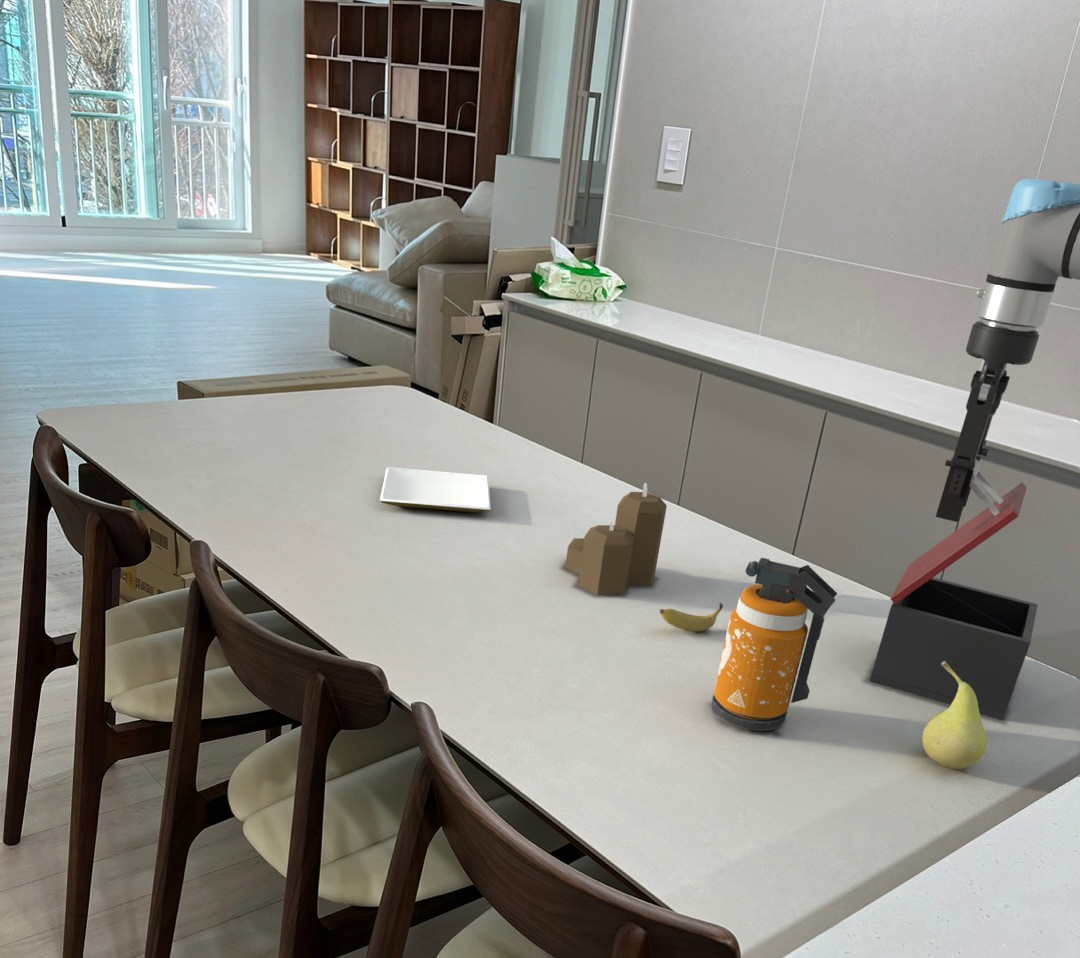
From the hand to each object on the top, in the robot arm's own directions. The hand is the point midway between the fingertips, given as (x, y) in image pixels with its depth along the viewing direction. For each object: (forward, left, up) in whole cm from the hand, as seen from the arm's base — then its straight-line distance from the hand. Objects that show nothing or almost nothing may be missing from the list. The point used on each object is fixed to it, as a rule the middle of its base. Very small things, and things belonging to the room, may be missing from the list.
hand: (951, 510), depth 135 cm
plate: (+86, -2, -23) cm, 89 cm away
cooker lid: (-2, 0, -4) cm, 5 cm away
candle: (+45, +4, -23) cm, 51 cm away
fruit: (-12, +22, -23) cm, 34 cm away
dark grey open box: (-5, -1, -23) cm, 23 cm away
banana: (+27, +13, -23) cm, 38 cm away
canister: (+9, +29, -23) cm, 38 cm away
